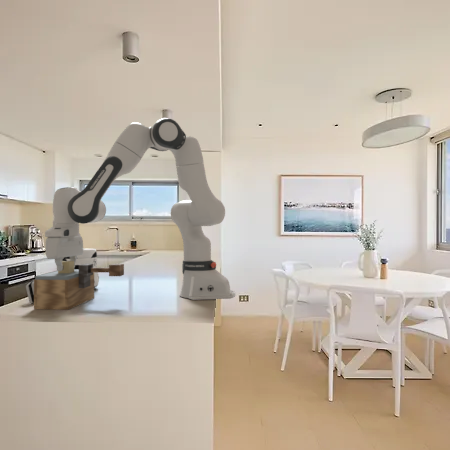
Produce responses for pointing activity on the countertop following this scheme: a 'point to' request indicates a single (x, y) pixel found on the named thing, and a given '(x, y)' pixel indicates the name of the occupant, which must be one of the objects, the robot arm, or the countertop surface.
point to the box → (65, 291)
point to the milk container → (87, 261)
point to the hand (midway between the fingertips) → (66, 269)
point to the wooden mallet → (111, 269)
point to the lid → (61, 273)
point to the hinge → (30, 291)
